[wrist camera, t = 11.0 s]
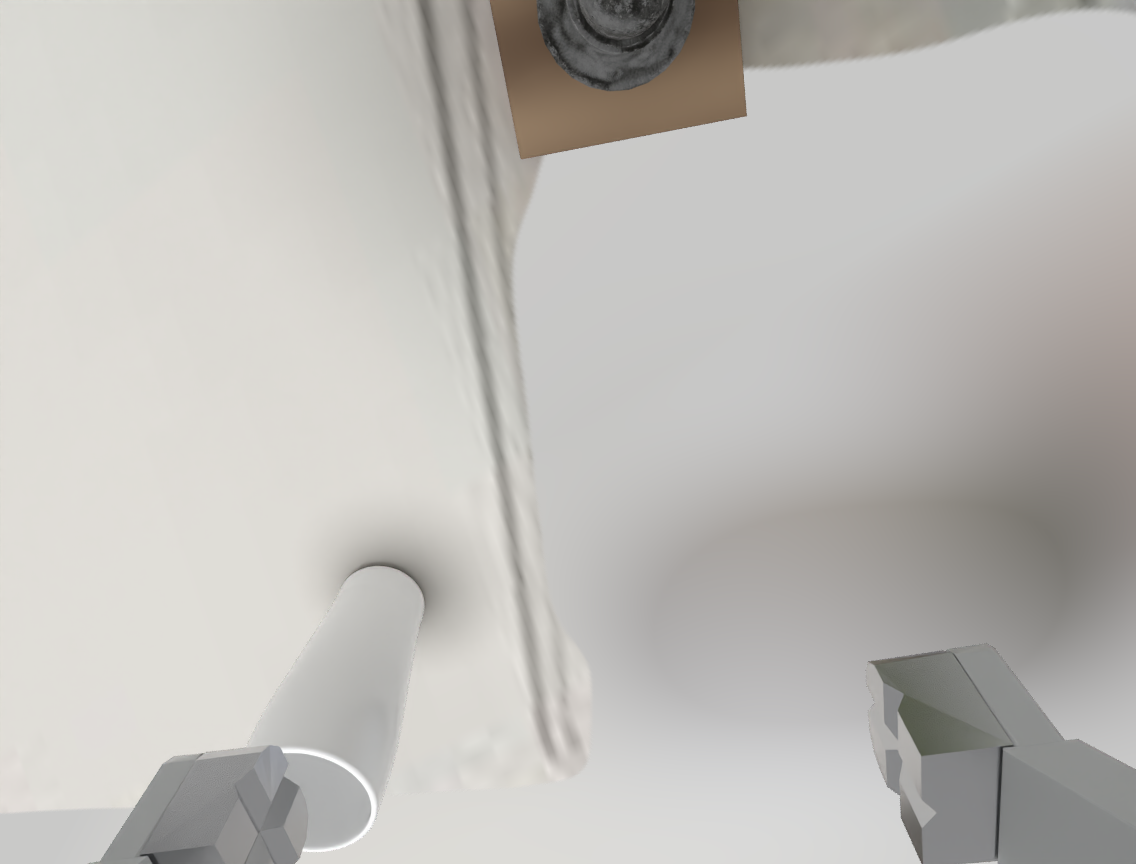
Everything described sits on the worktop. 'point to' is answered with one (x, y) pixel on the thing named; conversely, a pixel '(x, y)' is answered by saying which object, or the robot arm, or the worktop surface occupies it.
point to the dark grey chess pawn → (615, 38)
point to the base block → (592, 116)
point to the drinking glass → (347, 704)
